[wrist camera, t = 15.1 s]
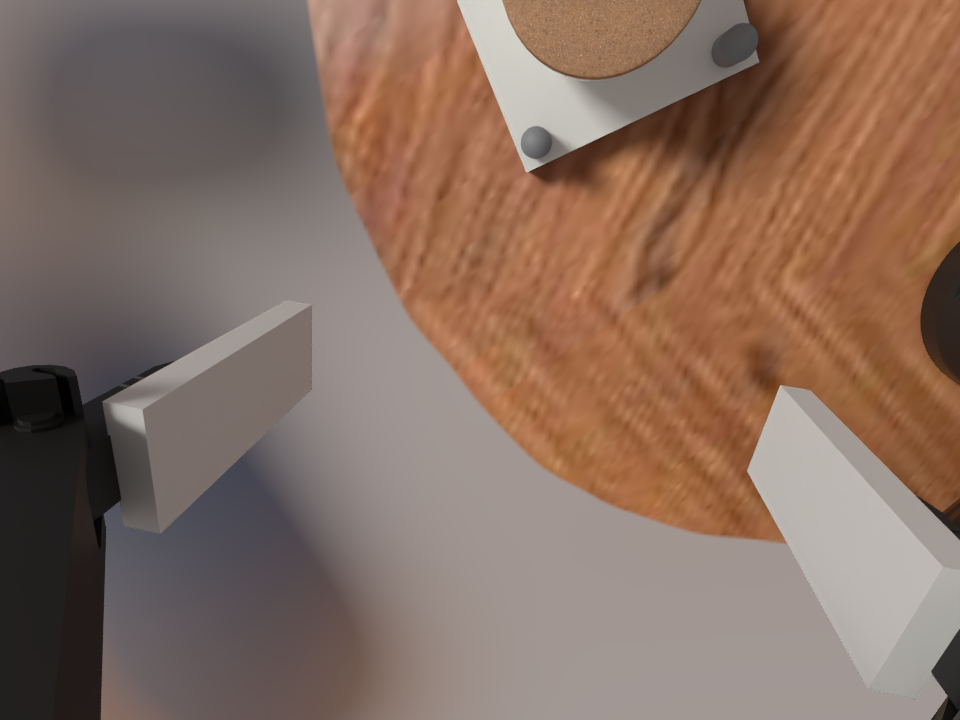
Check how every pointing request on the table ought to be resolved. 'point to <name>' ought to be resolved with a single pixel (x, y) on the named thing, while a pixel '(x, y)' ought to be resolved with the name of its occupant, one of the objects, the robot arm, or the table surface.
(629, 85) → the grey stand
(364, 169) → the table surface
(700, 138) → the table surface
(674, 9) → the lidded jar
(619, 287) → the table surface
